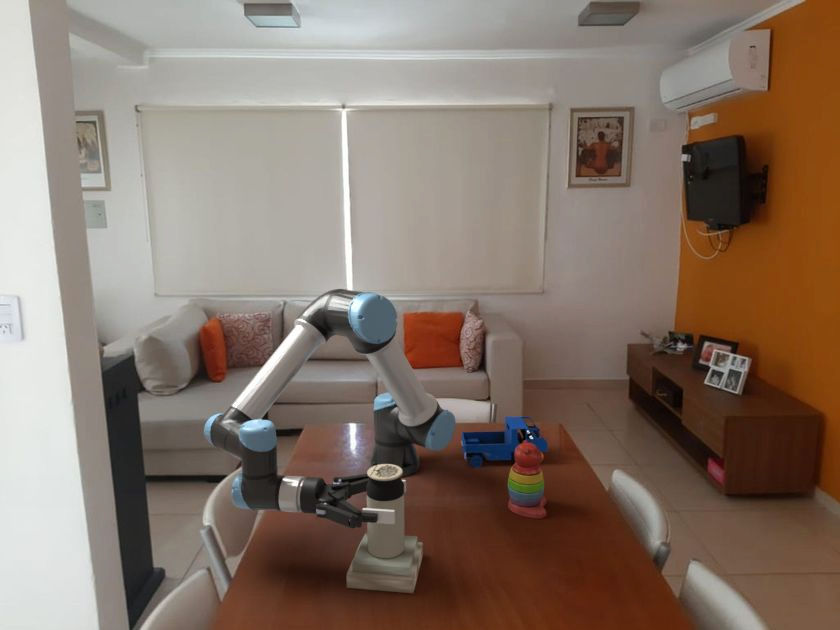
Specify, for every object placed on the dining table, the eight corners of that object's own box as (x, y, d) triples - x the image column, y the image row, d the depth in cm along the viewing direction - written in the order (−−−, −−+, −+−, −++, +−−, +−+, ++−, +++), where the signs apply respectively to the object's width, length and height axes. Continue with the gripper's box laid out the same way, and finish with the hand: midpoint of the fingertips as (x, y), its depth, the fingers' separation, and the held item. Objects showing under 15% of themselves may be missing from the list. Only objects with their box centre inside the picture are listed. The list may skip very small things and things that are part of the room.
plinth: (362, 550, 139) (362, 530, 138) (422, 554, 137) (422, 534, 136) (346, 587, 125) (346, 565, 124) (413, 593, 123) (413, 571, 122)
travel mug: (409, 542, 133) (409, 465, 129) (396, 562, 125) (395, 481, 122) (376, 536, 135) (375, 461, 132) (361, 555, 128) (359, 476, 125)
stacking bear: (546, 520, 152) (548, 453, 148) (505, 516, 154) (507, 450, 150) (546, 499, 162) (548, 437, 159) (508, 496, 164) (509, 434, 161)
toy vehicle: (465, 468, 182) (465, 430, 180) (461, 452, 194) (461, 416, 192) (547, 466, 183) (548, 429, 181) (538, 450, 195) (539, 415, 192)
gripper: (321, 484, 143) (409, 490, 140) (283, 541, 119) (389, 549, 116) (320, 455, 142) (409, 459, 139) (282, 506, 118) (388, 513, 115)
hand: (400, 500), depth 128 cm, fingers open, 13 cm apart
